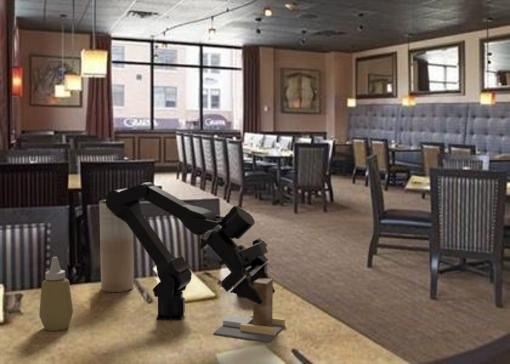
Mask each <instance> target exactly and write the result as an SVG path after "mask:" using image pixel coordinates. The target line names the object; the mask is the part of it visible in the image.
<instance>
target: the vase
mask: <svg viewBox="0 0 510 364" xmlns="http://www.w3.org/2000/svg"><path fill="white" fill-rule="evenodd" d="M105 201H106V199H101V200H99V202H98V203H99V240H100V241H99V243H100V244H99V246H100V247H99V249H100V287H101V290H102V292H106V293H123V292H127V291H130V289H131V290H132V289H133V288H134V233H133V232H132V230H131V229H130V228H129V226H128V225H127V223H126V222H124V221H123V220H121V219H119V218H118V217H116V216H115V215H114V214H113V213H112V212H111V211H110V210H109V209H108V208H107V206H106V204H105Z"/></svg>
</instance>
